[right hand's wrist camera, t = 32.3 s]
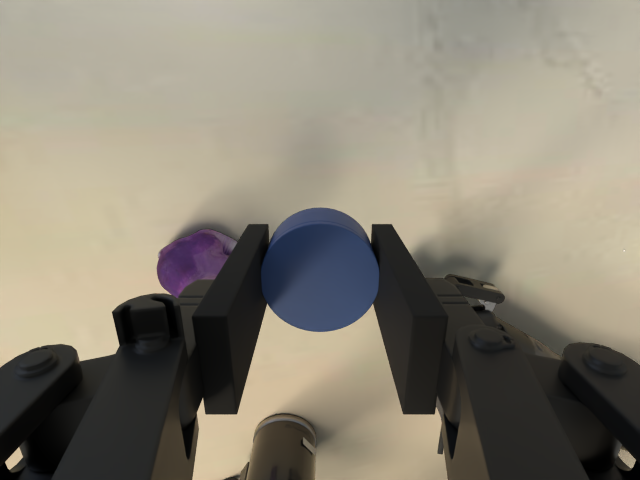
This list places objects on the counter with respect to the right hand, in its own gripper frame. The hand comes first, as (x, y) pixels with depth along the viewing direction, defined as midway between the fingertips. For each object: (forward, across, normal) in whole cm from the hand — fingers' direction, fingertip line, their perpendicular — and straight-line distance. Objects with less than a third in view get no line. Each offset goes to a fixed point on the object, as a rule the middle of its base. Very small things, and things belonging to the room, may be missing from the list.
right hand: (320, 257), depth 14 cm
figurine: (+28, -13, -12) cm, 33 cm away
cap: (-2, 0, 0) cm, 2 cm away
